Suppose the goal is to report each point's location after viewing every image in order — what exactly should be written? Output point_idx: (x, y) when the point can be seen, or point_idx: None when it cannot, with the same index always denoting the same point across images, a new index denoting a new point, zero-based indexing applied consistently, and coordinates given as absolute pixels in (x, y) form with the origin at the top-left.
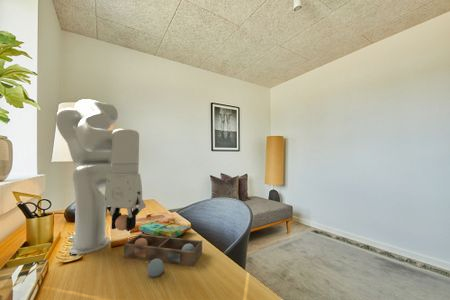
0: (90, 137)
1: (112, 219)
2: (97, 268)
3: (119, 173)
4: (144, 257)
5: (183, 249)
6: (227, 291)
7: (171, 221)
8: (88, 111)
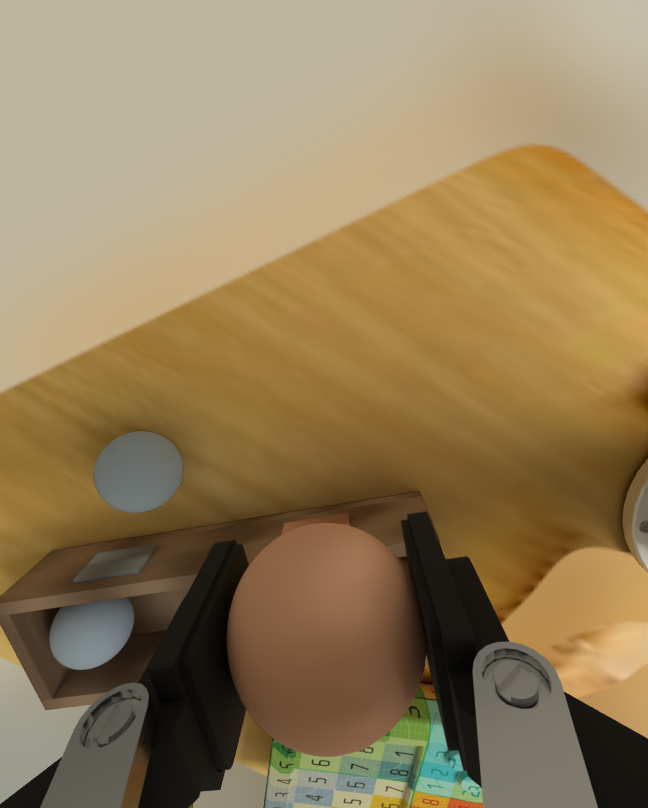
0: None
1: (440, 592)
2: (471, 383)
3: None
4: (293, 523)
5: (87, 619)
6: None
7: None
8: None
